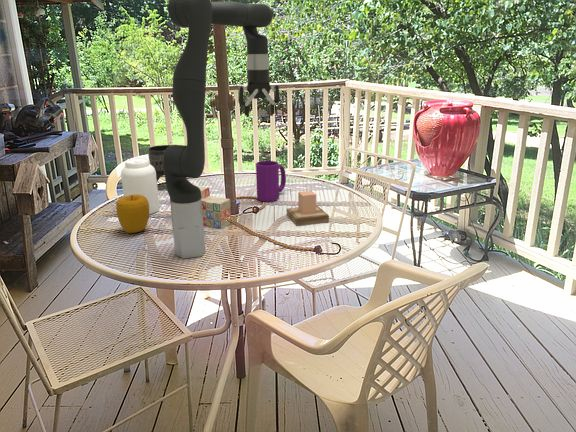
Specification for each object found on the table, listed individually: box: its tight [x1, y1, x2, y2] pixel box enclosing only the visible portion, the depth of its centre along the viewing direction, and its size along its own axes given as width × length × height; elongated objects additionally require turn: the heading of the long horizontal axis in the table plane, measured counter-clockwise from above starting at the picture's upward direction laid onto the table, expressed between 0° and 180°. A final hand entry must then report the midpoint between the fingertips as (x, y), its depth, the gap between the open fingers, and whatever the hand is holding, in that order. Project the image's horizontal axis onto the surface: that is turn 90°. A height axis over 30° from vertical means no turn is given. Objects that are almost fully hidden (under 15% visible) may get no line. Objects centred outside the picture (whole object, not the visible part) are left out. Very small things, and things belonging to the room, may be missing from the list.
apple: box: [115, 195, 150, 234], centre depth 169 cm, size 11×11×13 cm
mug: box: [255, 160, 287, 203], centre depth 203 cm, size 9×16×15 cm, turn 142°
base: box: [286, 204, 330, 227], centre depth 180 cm, size 12×12×3 cm
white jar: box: [120, 157, 160, 215], centre depth 187 cm, size 12×12×20 cm
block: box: [297, 190, 317, 215], centre depth 178 cm, size 5×5×7 cm
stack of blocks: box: [196, 185, 232, 230], centre depth 177 cm, size 21×6×12 cm, turn 60°
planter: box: [147, 144, 171, 183], centre depth 217 cm, size 13×13×18 cm
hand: (259, 116), depth 174 cm, fingers open, 8 cm apart
